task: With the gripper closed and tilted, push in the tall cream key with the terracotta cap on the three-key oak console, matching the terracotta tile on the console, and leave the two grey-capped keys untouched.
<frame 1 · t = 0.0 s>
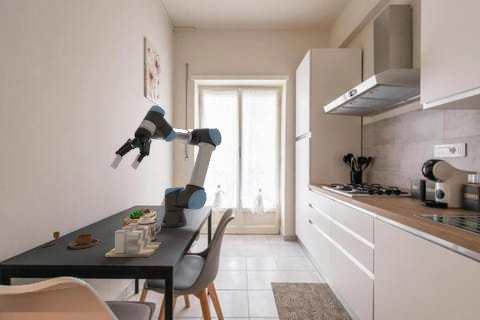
hand: (122, 167, 123), 36 cm above the table, tool tilted 35°, fingers open, 13 cm apart
teacup with lid: (149, 239, 139), on the table
key terracotta: (127, 237, 121), point 6 cm above the table, slide at 0.0 cm
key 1: (120, 241, 114), point 6 cm above the table, slide at 0.0 cm
place setting: (79, 245, 131), on the table
key 2: (133, 233, 127), point 6 cm above the table, slide at 0.0 cm
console: (135, 250, 121), on the table
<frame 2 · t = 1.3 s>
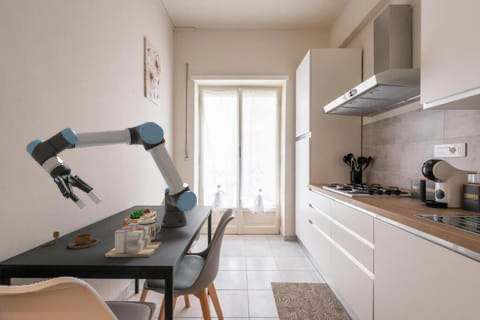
hand: (91, 204, 121), 20 cm above the table, tool tilted 45°, fingers open, 12 cm apart
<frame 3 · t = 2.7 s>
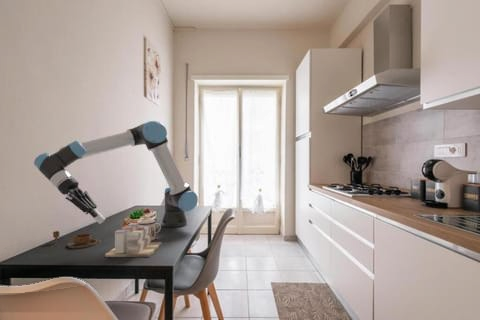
hand: (102, 221, 121), 13 cm above the table, tool tilted 45°, fingers closed
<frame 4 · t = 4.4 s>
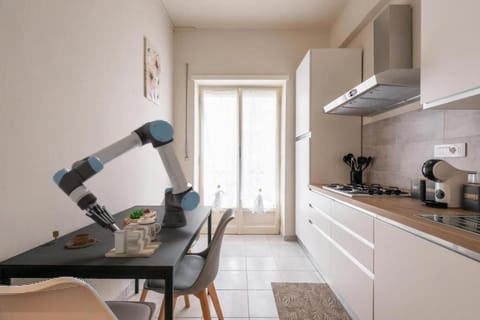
hand: (121, 236, 121), 6 cm above the table, tool tilted 45°, fingers closed
key terracotta: (128, 237, 121), point 6 cm above the table, slide at 0.6 cm, touching gripper
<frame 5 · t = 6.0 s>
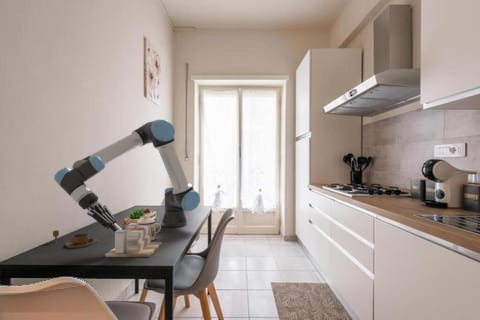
hand: (123, 235, 121), 6 cm above the table, tool tilted 45°, fingers closed
key terracotta: (130, 237, 121), point 6 cm above the table, slide at 1.5 cm
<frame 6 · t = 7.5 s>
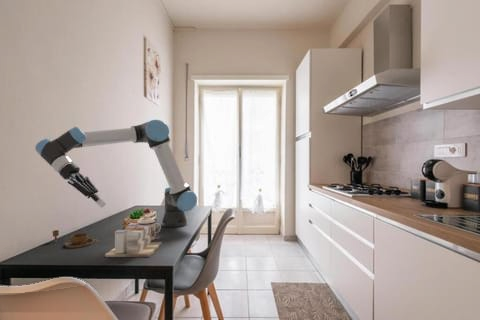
hand: (104, 205, 123), 19 cm above the table, tool tilted 45°, fingers closed
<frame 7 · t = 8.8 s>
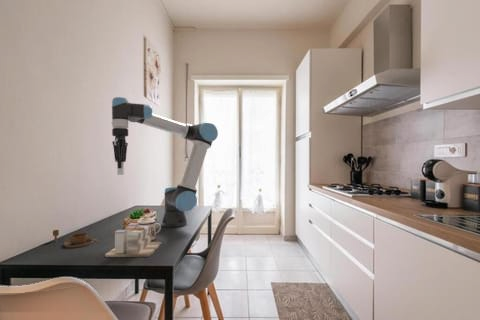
hand: (120, 174, 141), 32 cm above the table, tool pointing down, fingers closed
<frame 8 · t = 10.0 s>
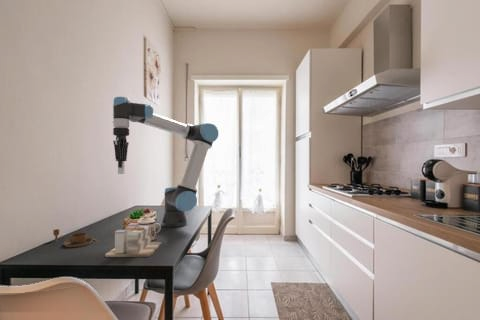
hand: (121, 174, 141), 32 cm above the table, tool pointing down, fingers closed
at the end: key terracotta slide at 1.5 cm; key 2 slide at 0.0 cm; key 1 slide at 0.0 cm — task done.
